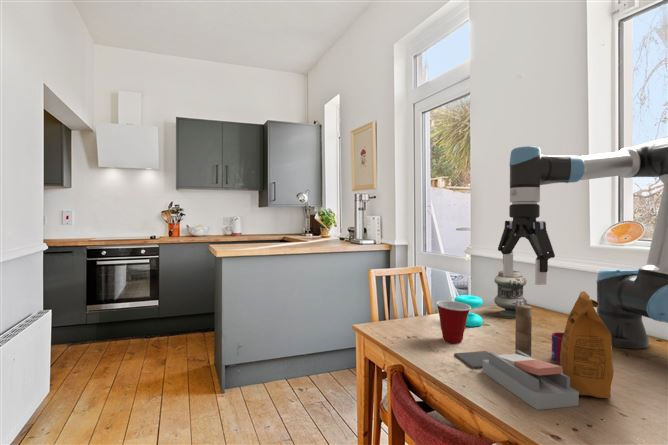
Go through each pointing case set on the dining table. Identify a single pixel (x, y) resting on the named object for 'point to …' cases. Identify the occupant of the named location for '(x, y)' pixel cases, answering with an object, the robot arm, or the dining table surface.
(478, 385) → the dining table surface
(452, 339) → the plastic cup
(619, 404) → the dining table surface
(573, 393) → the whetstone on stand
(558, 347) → the cup
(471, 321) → the donuts
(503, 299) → the apothecary jar
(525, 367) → the rocker
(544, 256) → the robot arm
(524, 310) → the wooden pestle
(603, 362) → the coffee package
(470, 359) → the mat
